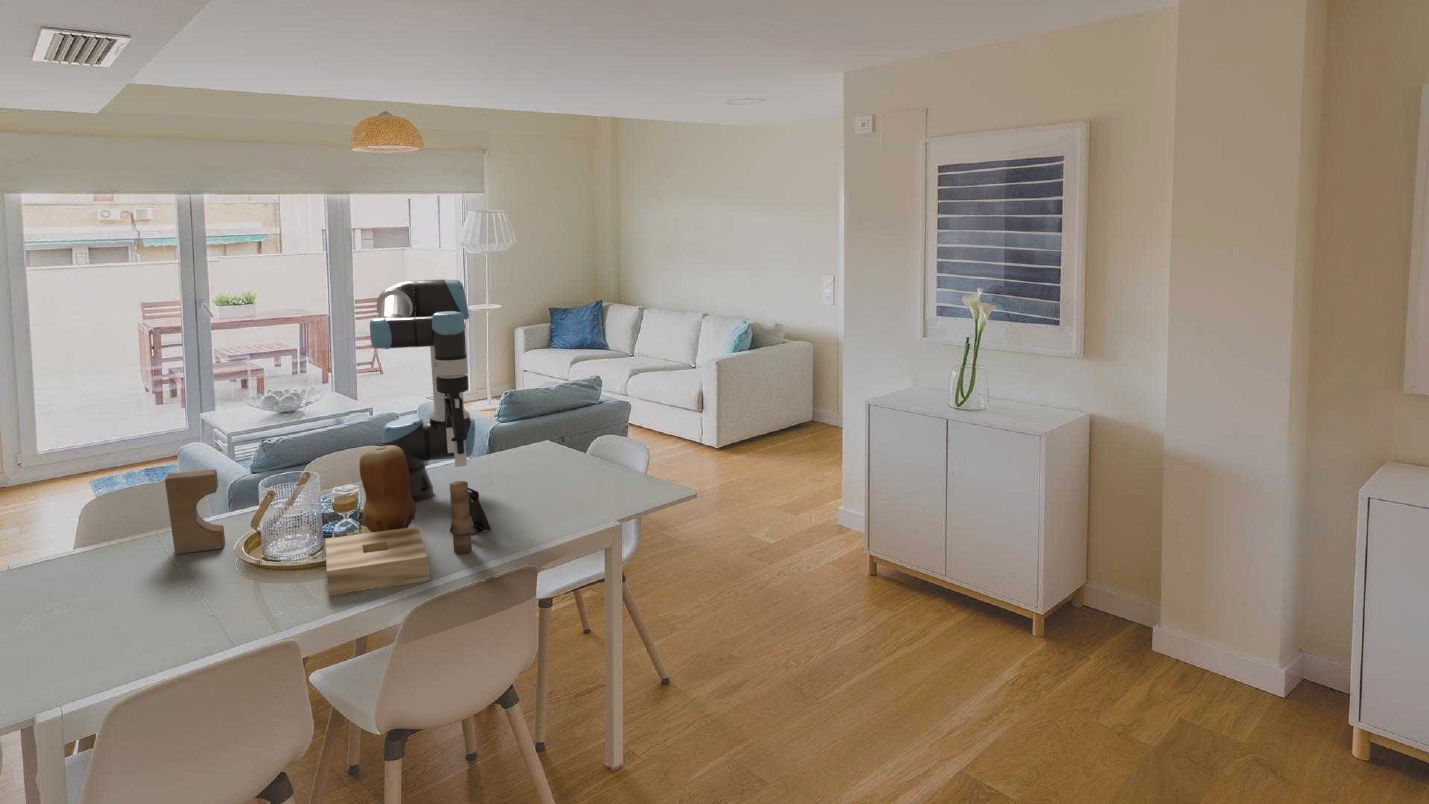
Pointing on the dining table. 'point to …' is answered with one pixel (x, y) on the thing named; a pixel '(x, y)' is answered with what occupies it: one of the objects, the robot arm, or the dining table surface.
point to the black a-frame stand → (476, 514)
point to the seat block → (375, 560)
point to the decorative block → (192, 511)
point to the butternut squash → (386, 489)
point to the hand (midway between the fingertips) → (457, 459)
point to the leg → (460, 517)
